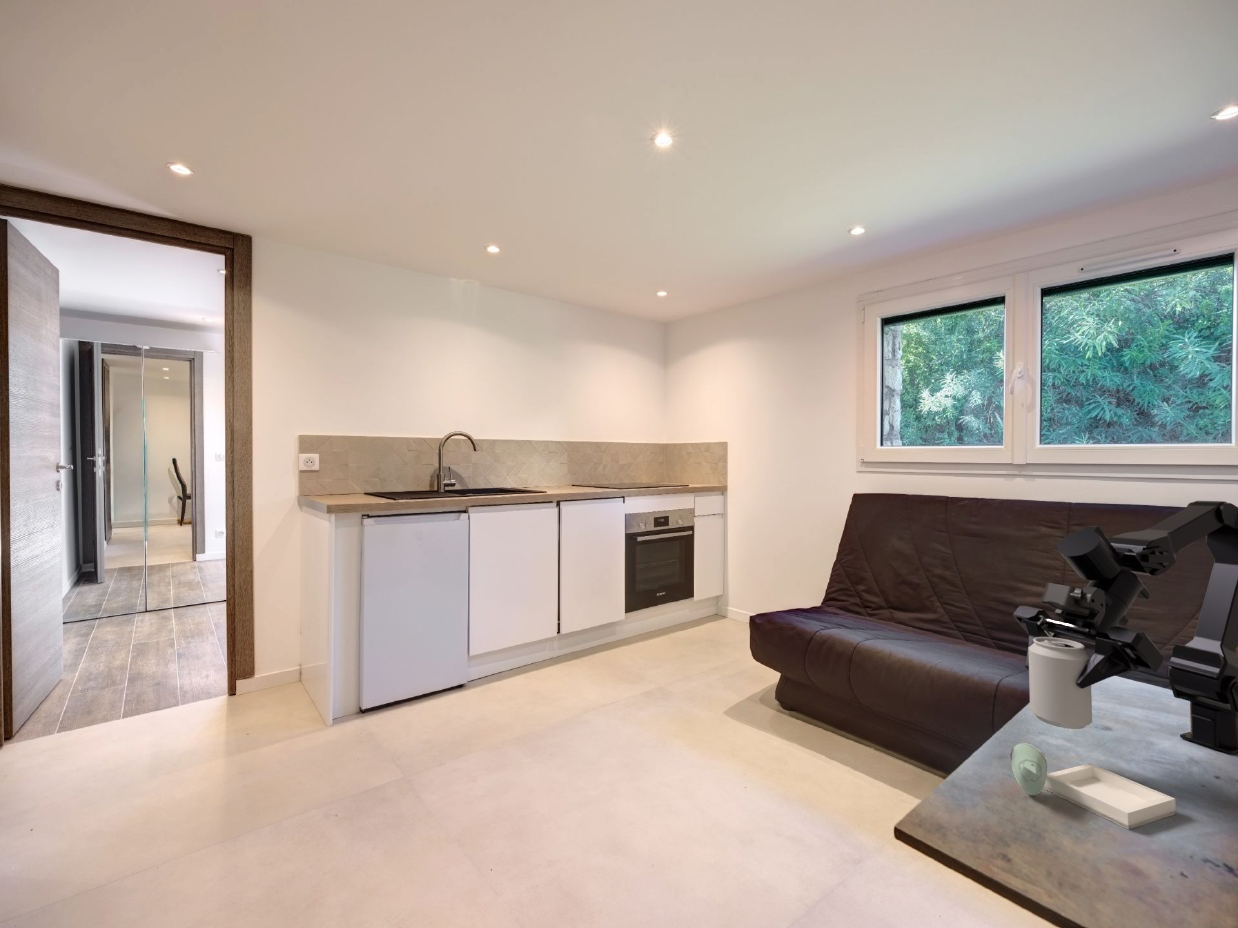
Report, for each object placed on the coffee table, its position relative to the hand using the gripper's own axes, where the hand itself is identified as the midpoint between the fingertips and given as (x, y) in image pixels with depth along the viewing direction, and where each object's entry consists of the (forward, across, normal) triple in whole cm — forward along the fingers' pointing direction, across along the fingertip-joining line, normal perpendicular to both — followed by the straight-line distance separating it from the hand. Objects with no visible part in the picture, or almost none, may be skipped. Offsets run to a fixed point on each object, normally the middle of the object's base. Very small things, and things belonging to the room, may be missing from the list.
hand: (1052, 677), depth 85 cm
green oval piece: (+17, +5, +2) cm, 18 cm away
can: (+4, 0, +6) cm, 7 cm away
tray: (+11, +9, +8) cm, 16 cm away
